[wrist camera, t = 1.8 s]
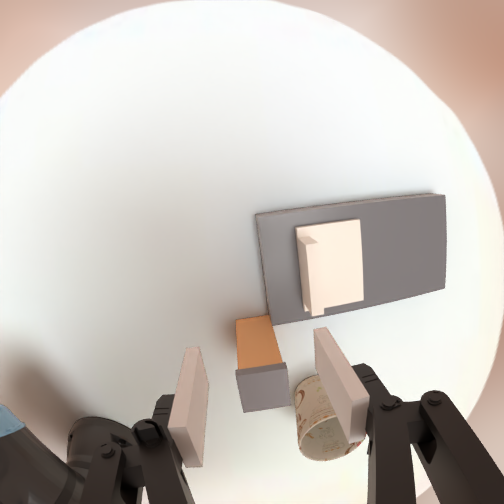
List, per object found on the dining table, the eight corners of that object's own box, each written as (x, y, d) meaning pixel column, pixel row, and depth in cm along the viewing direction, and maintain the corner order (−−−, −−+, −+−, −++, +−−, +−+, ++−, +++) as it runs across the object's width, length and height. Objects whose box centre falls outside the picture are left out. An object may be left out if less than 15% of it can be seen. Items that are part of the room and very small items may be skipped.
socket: (269, 314, 37) (272, 325, 34) (255, 214, 34) (257, 217, 31) (432, 281, 38) (444, 288, 35) (431, 193, 35) (445, 194, 32)
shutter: (303, 308, 34) (312, 325, 29) (295, 227, 32) (304, 233, 27) (360, 297, 34) (376, 312, 30) (356, 218, 32) (374, 224, 28)
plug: (239, 349, 38) (243, 412, 26) (233, 318, 37) (235, 376, 25) (274, 344, 38) (291, 405, 26) (270, 313, 37) (287, 368, 25)
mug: (296, 363, 39) (314, 412, 29) (376, 372, 40) (406, 414, 30) (278, 410, 40) (289, 460, 31) (354, 415, 42) (376, 459, 32)
